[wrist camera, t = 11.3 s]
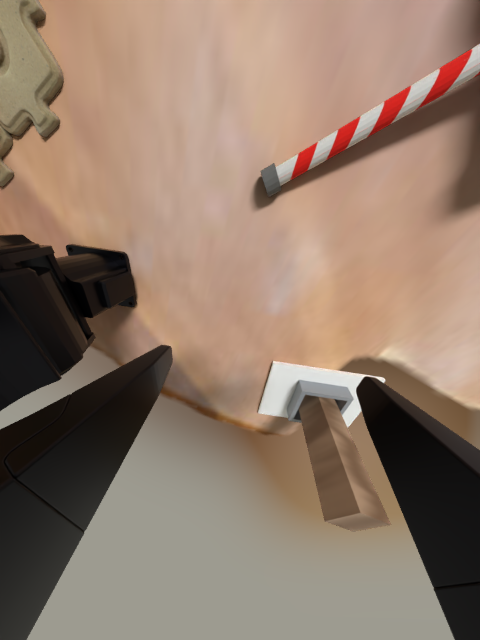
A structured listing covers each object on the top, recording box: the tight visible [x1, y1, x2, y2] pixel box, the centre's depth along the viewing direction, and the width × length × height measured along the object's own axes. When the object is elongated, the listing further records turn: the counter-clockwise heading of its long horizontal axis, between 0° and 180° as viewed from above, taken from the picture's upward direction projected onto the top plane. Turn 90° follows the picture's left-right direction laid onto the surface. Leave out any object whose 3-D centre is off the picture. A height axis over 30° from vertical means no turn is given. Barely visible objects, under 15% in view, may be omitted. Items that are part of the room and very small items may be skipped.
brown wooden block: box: [299, 395, 391, 532], centre depth 22 cm, size 4×4×13 cm
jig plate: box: [258, 361, 385, 427], centre depth 27 cm, size 16×12×2 cm
